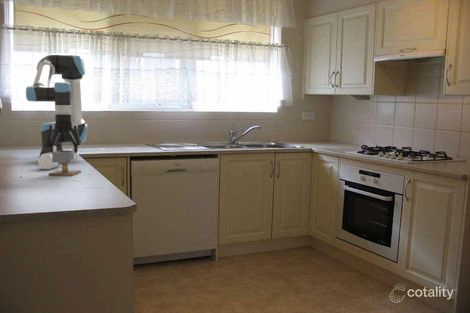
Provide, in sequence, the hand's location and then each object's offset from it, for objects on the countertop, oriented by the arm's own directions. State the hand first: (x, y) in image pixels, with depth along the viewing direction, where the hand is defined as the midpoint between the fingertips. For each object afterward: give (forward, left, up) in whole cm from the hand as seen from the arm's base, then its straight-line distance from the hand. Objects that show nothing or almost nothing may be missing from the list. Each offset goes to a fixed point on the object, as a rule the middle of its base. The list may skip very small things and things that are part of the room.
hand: (64, 159), depth 249 cm
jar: (-14, -16, -3) cm, 21 cm away
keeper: (0, 0, -7) cm, 7 cm away
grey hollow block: (0, 0, -1) cm, 1 cm away
